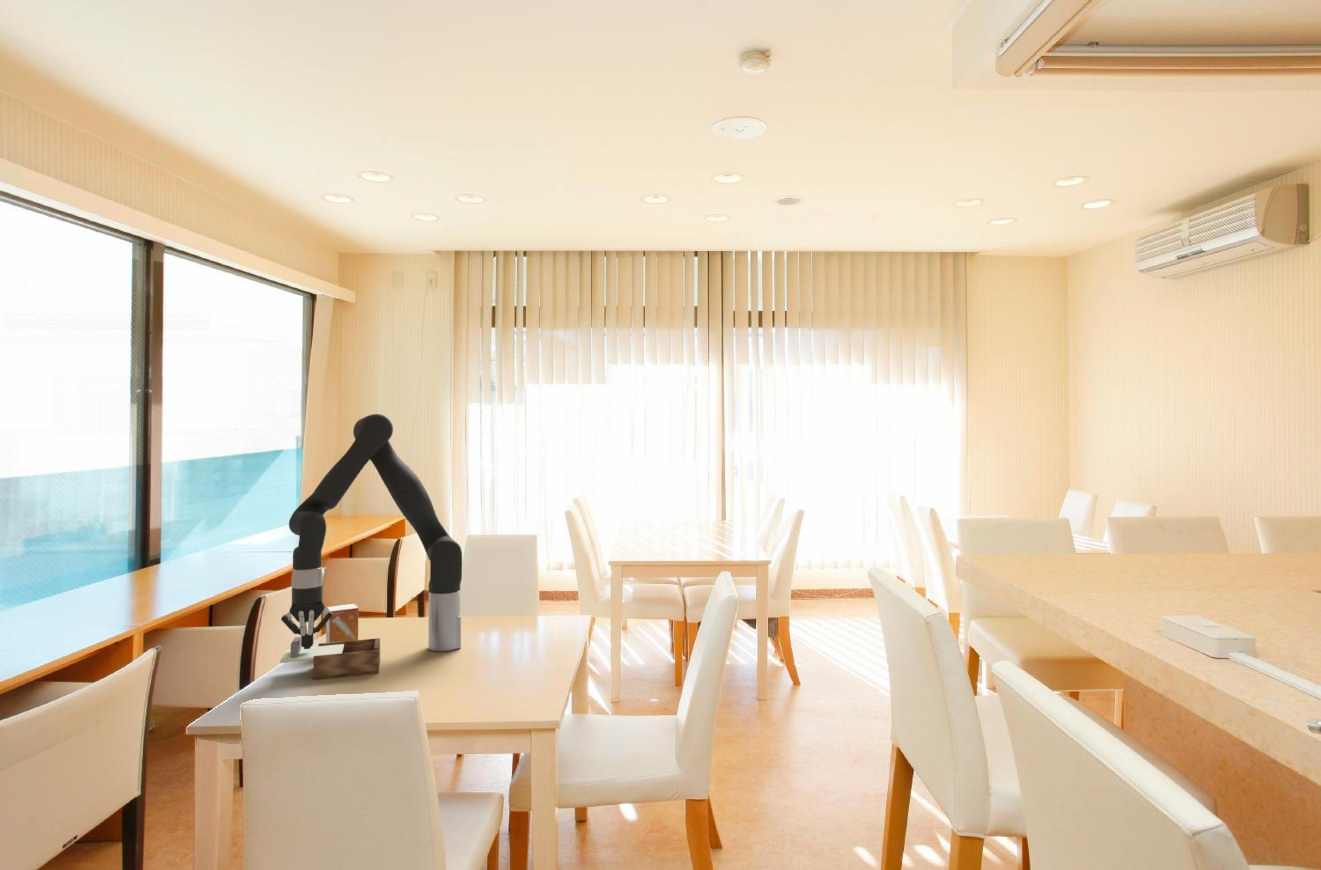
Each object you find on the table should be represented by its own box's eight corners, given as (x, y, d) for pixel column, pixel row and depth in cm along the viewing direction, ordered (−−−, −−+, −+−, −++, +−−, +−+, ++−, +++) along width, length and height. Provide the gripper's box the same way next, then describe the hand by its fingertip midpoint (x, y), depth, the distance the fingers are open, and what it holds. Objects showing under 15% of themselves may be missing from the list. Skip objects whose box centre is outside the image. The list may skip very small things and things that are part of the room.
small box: (329, 655, 209) (329, 611, 209) (325, 650, 214) (325, 606, 214) (358, 650, 213) (358, 607, 213) (354, 645, 219) (354, 603, 219)
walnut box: (380, 659, 205) (380, 636, 205) (378, 672, 194) (378, 649, 194) (318, 665, 200) (318, 642, 200) (313, 679, 188) (313, 655, 188)
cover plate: (344, 645, 201) (344, 631, 201) (340, 657, 191) (340, 641, 191) (286, 651, 196) (286, 636, 196) (280, 663, 186) (280, 647, 186)
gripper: (335, 579, 199) (335, 642, 199) (282, 583, 194) (282, 646, 195) (332, 585, 192) (332, 649, 192) (277, 589, 187) (277, 654, 187)
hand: (307, 648), depth 193 cm, fingers closed
